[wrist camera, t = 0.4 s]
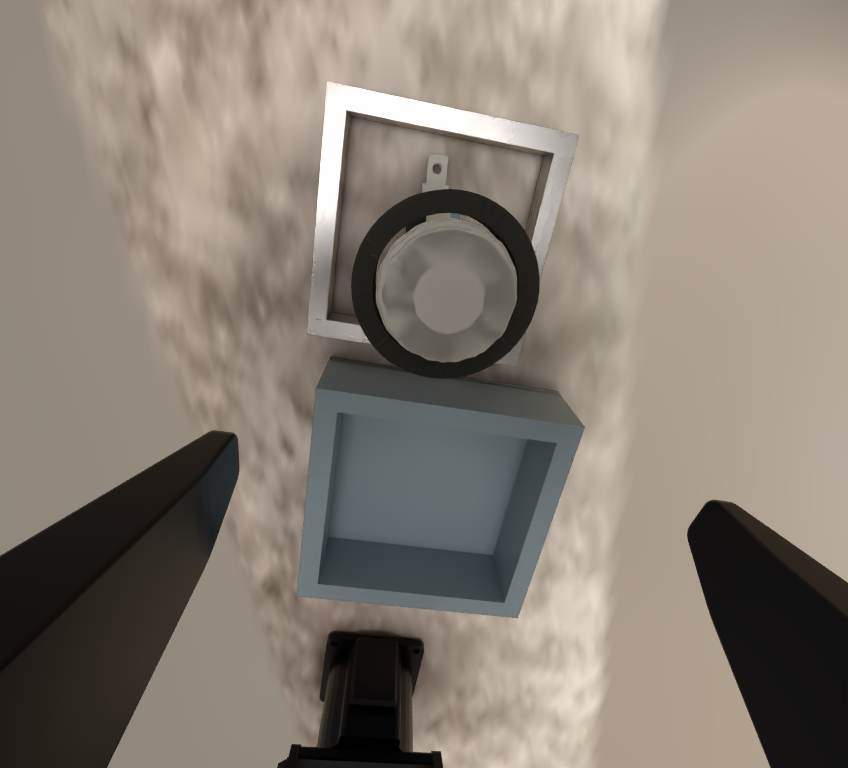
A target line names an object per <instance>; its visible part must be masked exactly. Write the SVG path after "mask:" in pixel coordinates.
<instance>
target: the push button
mask: <svg viewBox="0 0 848 768" xmlns="http://www.w3.org/2000/svg"><path fill="white" fill-rule="evenodd" d="M435 164H436V165H439V166H440V168H441V172H440V173H439V174H435V173H434V172H433V169H432V168H433V165H435ZM447 165H448V157H447V156H444V155H434V154H431V155H430V156H429V157H428V161H427V174H426V183H423V184H422V193H420V194H417V195H414V196H411V197H408V198H407V199H405V200H403V201H401V202H400V203H398V204H396V205H395V206H393V207H392V208H391V209H389V210H388V211H387V212H386V213H384V214H383V215H382V216H381V217H380V218H379V219H378V220H377V221H376V223H375V224H374V225H373V226H372V227H371V229H370V230H369V232H368V233H367V235H366V236H365V238H364V240H363V242H362V244H361V245H360V248H359V250H358V253H357V255H356V259H355V263H354V266H353V273H352V284H351V289H352V300H353V306H354V310H355V314H356V317H357V319H358V322H359V325H360V327H361V329H362V330H363V332H364V334H365V336H366V337H367V339H368V340H369V342H370V343H371V344H372V345H373V347H374V348H375V349H376V350H377V351H378V352H379V353H380V354H381V355H382V356H383V357H385V358H386V359H387V360H388V361H390V362H391V363H393V364H394V365H396V366H397V367H399V368H401V369H403V370H405V371H408V372H410V373H413V374H416V375H419V376H423V377H429V378H439V379H446V378H457V377H463V376H467V375H471V374H474V373H476V372H479V371H481V370H483V369H486V368H488V367H489V366H491V365H493V364H495V363H496V362H497V361H499V360H500V359H502V358H503V357H504V356H505V355H506V354H507V353H509V352H510V351H511V350H512V349H513V348H514V346H515V345H516V344H517V343H518V342H519V340H520V339H521V338H522V336H523V335H524V333H525V332H526V330H527V328H528V326H529V324H530V322H531V320H532V318H533V315H534V312H535V309H536V305H537V302H538V295H539V284H540V278H539V268H538V261H537V258H536V254H535V251H534V248H533V246H532V243H531V241H530V239H529V237H528V235H527V234H526V232H525V231H524V229H523V228H522V226H521V225H520V224H519V222H518V221H517V220H516V219H515V218H514V217H513V216H512V215H511V214H510V213H509V212H508V211H507V210H506V209H504V208H503V207H501V206H500V205H499V204H497V203H496V202H494V201H492V200H490V199H488V198H486V197H484V196H481V195H479V194H476V193H472V192H468V191H463V190H455V189H449V185H446V176H447ZM459 214H461V215H466V216H469V217H471V218H473V219H475V220H477V221H478V222H480V223H481V224H483V225H484V226H485V227H486V228H487V229H488V230H489V231H490V232H491V233H492V234H493V235H494V236H495V237H494V236H493V235H492V234H491V233H490V232H488V231H487V230H486V229H485V228H483V227H482V226H480V225H478V224H475V223H471V222H467V221H463V220H459ZM405 226H406V234H404V235H403V236H402V237H400V238H399V239H397V240H396V241H395V243H394V244H393V245H392V246H391V248H390V249H389V251H388V253H387V255H386V257H385V258H384V260H383V262H382V264H381V266H380V268H379V271H378V275H377V287H376V269H377V264H378V260H379V257H380V255H381V253H382V251H383V249H384V248H385V246H386V245H387V244H388V242H389V241H390V240H391V239H392V238H393V237H394V235H395V234H396V233H398V232H399V231H400V230H401V229H402V228H404V227H405Z"/></svg>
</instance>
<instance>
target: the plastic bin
mask: <svg viewBox="0 0 848 768" xmlns="http://www.w3.org/2000/svg"><path fill="white" fill-rule="evenodd" d="M584 428H585V427H584V425H583V424H582V423H581V421H580V420H579V419H578V418H577V416H576V415H575V414H574V412H573V411H572V410H571V408H570V407H569V406H568V404H567V403H566V402H565V401H564V399H563V398H562V397H561V395H560V394H559V393H558V391H552V390H545V389H539V388H532V387H526V386H519V385H513V384H506V383H499V382H493V381H486V380H480V379H473V378H466V377H457V378H446V379H439V378H429V377H423V376H419V375H416V374H413V373H410V372H408V371H405V370H403V369H401V368H399V367H394V366H387V365H381V364H374V363H368V362H361V361H355V360H348V359H341V358H335V357H330V359H329V361H328V364H327V366H326V368H325V370H324V372H323V374H322V376H321V379H320V381H319V383H318V385H317V387H316V394H315V405H314V416H313V426H312V437H311V448H310V459H309V469H308V480H307V491H306V502H305V512H304V523H303V534H302V544H301V555H300V566H299V577H298V587H297V596H299V597H309V598H319V599H330V600H340V601H350V602H360V603H370V604H380V605H390V606H400V607H411V608H421V609H431V610H441V611H451V612H461V613H471V614H481V615H492V616H502V617H512V618H518V616H519V613H520V610H521V607H522V604H523V602H524V599H525V596H526V593H527V590H528V587H529V585H530V582H531V579H532V576H533V573H534V570H535V567H536V565H537V562H538V559H539V556H540V553H541V550H542V547H543V545H544V542H545V539H546V536H547V533H548V530H549V527H550V525H551V522H552V519H553V516H554V513H555V510H556V508H557V505H558V502H559V499H560V496H561V493H562V490H563V488H564V485H565V482H566V479H567V476H568V473H569V470H570V468H571V465H572V462H573V459H574V456H575V453H576V450H577V448H578V445H579V442H580V439H581V436H582V433H583V431H584Z"/></svg>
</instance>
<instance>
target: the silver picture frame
mask: <svg viewBox="0 0 848 768" xmlns="http://www.w3.org/2000/svg"><path fill="white" fill-rule="evenodd" d="M351 116H352V117H357V118H362V119H367V120H372V121H376V122H381V123H386V124H391V125H396V126H401V127H406V128H411V129H415V130H420V131H425V132H430V133H435V134H440V135H445V136H449V137H454V138H459V139H464V140H469V141H474V142H479V143H483V144H488V145H493V146H498V147H503V148H508V149H513V150H517V151H522V152H527V153H532V154H537V155H542V156H544V158H543V162H542V166H541V170H540V174H539V178H538V182H537V186H536V190H535V194H534V198H533V202H532V206H531V210H530V214H529V218H528V222H527V226H526V230H525V232H526V234H527V235H528V237H529V239H530V241H531V243H532V246H533V248H534V251H535V254H536V258H537V261H538V268H539V278H541V274H542V270H543V267H544V263H545V259H546V256H547V252H548V248H549V244H550V241H551V237H552V233H553V230H554V226H555V222H556V219H557V215H558V211H559V207H560V204H561V200H562V196H563V193H564V189H565V185H566V182H567V178H568V174H569V171H570V167H571V163H572V159H573V156H574V152H575V148H576V145H577V141H578V137H579V135H577V134H572V133H568V132H563V131H558V130H553V129H549V128H544V127H539V126H535V125H530V124H525V123H520V122H516V121H511V120H506V119H502V118H497V117H492V116H487V115H483V114H478V113H473V112H469V111H464V110H459V109H454V108H450V107H445V106H440V105H436V104H431V103H426V102H421V101H417V100H412V99H407V98H403V97H398V96H393V95H388V94H384V93H379V92H374V91H370V90H365V89H360V88H355V87H351V86H346V85H341V84H337V83H332V82H327V91H326V103H325V116H324V128H323V141H322V153H321V165H320V178H319V190H318V202H317V215H316V227H315V240H314V252H313V264H312V277H311V289H310V302H309V314H308V326H307V334H311V335H317V336H323V337H330V338H336V339H343V340H349V341H355V342H362V343H368V344H371V343H370V342H369V340H368V339H367V337H366V336H365V334H364V332H363V330H362V329H361V327H360V325H359V322H358V319H357V317H356V316H352V315H346V314H340V313H334V312H331V307H332V297H333V287H334V277H335V267H336V257H337V247H338V237H339V227H340V217H341V207H342V197H343V187H344V177H345V167H346V157H347V147H348V137H349V127H350V117H351ZM525 333H526V332H525ZM525 333H524V335H523V336H522V338H521V339H520V340H519V342H518V343H517V344H516V345H515V346H514V348H513V349H512V350H511V351H510V352H509V353H507V354H506V355H505V356H504V357H503V358H502V359H500V360H499V361H497V362H496V364H503V365H509V366H517V363H518V359H519V355H520V352H521V348H522V344H523V340H524V337H525Z"/></svg>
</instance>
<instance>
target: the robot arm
mask: <svg viewBox="0 0 848 768" xmlns="http://www.w3.org/2000/svg"><path fill="white" fill-rule="evenodd" d="M238 475H239V450H238V438H237V436H236V435H235V434H234V433H231V432H224V431H217V430H213V431H210V432H208V433H206V434H205V435H203V436H201V437H200V438H198V439H196V440H195V441H193V442H191V443H189V444H188V445H186V446H184V447H183V448H181V449H179V450H178V451H176V452H174V453H173V454H171V455H169V456H168V457H166V458H164V459H162V460H161V461H159V462H157V463H156V464H154V465H152V466H151V467H149V468H147V469H146V470H144V471H142V472H141V473H139V474H137V475H135V476H134V477H132V478H130V479H129V480H127V481H125V482H124V483H122V484H120V485H119V486H117V487H115V488H114V489H112V490H110V491H108V492H107V493H105V494H103V495H102V496H100V497H98V498H97V499H95V500H93V501H92V502H90V503H88V504H87V505H85V506H83V507H82V508H80V509H78V510H77V511H75V512H73V513H71V514H70V515H68V516H66V517H65V518H63V519H61V520H60V521H58V522H56V523H55V524H53V525H51V526H49V527H48V528H46V529H44V530H43V531H41V532H40V533H38V534H36V535H34V536H33V537H31V538H29V539H28V540H26V541H24V542H23V543H21V544H19V545H17V546H16V547H14V548H12V549H11V550H9V551H7V552H6V553H4V554H2V555H1V556H0V768H107V766H108V764H109V762H110V760H111V758H112V756H113V754H114V752H115V750H116V748H117V746H118V744H119V742H120V740H121V738H122V736H123V734H124V731H125V730H126V727H127V725H128V724H129V722H130V719H131V717H132V715H133V713H134V711H135V709H136V707H137V705H138V703H139V701H140V699H141V697H142V695H143V693H144V691H145V689H146V687H147V685H148V683H149V681H150V679H151V677H152V675H153V672H154V671H155V668H156V666H157V664H158V662H159V660H160V658H161V656H162V654H163V652H164V650H165V648H166V646H167V644H168V642H169V640H170V638H171V636H172V634H173V632H174V630H175V628H176V626H177V623H178V622H179V620H180V617H181V615H182V613H183V611H184V609H185V607H186V605H187V603H188V601H189V599H190V597H191V595H192V593H193V591H194V589H195V587H196V585H197V583H198V581H199V579H200V577H201V575H202V573H203V571H204V568H205V566H206V564H207V562H208V559H209V557H210V555H211V552H212V549H213V547H214V544H215V541H216V539H217V536H218V533H219V530H220V527H221V524H222V522H223V519H224V516H225V513H226V510H227V508H228V505H229V502H230V499H231V496H232V494H233V491H234V488H235V485H236V482H237V479H238ZM687 537H688V542H689V546H690V549H691V552H692V556H693V559H694V562H695V566H696V570H697V573H698V576H699V580H700V583H701V587H702V590H703V593H704V596H705V600H706V604H707V607H708V610H709V613H710V616H711V619H712V621H713V624H714V627H715V629H716V632H717V634H718V637H719V639H720V642H721V645H722V647H723V650H724V652H725V655H726V657H727V660H728V662H729V665H730V667H731V669H732V672H733V674H734V677H735V679H736V682H737V684H738V687H739V690H740V692H741V695H742V697H743V699H744V702H745V705H746V707H747V710H748V712H749V715H750V717H751V720H752V722H753V725H754V727H755V730H756V732H757V735H758V737H759V740H760V743H761V745H762V748H763V750H764V753H765V755H766V758H767V760H768V763H769V765H770V767H771V768H848V583H847V582H846V581H844V580H843V579H841V578H840V577H839V576H837V575H836V574H835V573H833V572H832V571H830V570H829V569H827V568H826V567H825V566H823V565H822V564H820V563H819V562H817V561H816V560H815V559H813V558H812V557H810V556H809V555H807V554H806V553H804V552H803V551H802V550H800V549H799V548H797V547H796V546H795V545H793V544H791V543H790V542H789V541H787V540H786V539H785V538H783V537H782V536H780V535H779V534H777V533H776V532H775V531H773V530H772V529H770V528H769V527H767V526H766V525H764V524H763V523H762V522H760V521H759V520H757V519H756V518H755V517H753V516H752V515H750V514H749V513H747V512H746V511H745V510H743V509H742V508H740V507H739V506H738V505H736V504H734V503H731V502H726V501H719V500H710V501H709V502H707V503H706V504H705V505H704V506H703V508H702V509H701V511H700V512H699V513H698V515H697V516H696V518H695V519H694V520H693V522H692V523H691V525H690V526H689V528H688V533H687ZM423 653H424V644H423V643H422V642H421V641H418V640H407V639H396V638H385V637H374V636H363V635H353V634H342V633H332V634H330V635H329V636H328V640H327V646H326V654H325V661H324V669H323V676H322V684H321V691H320V700H321V701H323V702H324V706H323V712H322V718H321V725H320V731H319V737H318V743H317V747H301V745H300V744H292V745H291V749H290V754H289V757H287V759H286V760H284V761H282V762H280V763H279V764H278V767H277V768H443V764H442V757H441V752H440V751H431V753H422V752H413V725H412V697H413V693H414V689H415V685H416V681H417V677H418V673H419V669H420V665H421V661H422V657H423Z"/></svg>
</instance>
